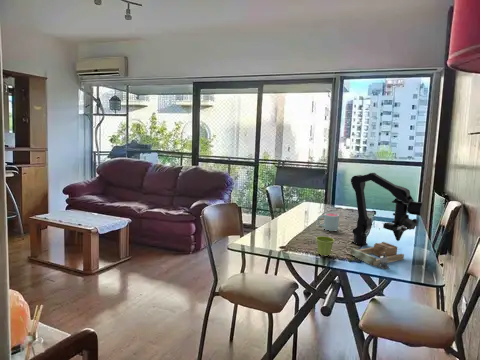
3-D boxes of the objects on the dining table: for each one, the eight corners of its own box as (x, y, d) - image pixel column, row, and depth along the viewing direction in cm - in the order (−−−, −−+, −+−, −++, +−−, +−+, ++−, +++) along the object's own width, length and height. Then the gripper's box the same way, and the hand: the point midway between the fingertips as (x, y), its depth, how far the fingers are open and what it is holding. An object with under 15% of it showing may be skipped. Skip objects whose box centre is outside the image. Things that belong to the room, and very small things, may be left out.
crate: (373, 254, 192) (374, 243, 191) (383, 252, 196) (384, 241, 195) (385, 259, 185) (386, 248, 185) (396, 257, 189) (397, 246, 188)
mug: (336, 228, 241) (337, 213, 239) (339, 232, 232) (340, 216, 230) (315, 226, 242) (316, 212, 241) (317, 230, 233) (318, 215, 231)
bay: (350, 255, 189) (350, 248, 188) (379, 250, 200) (380, 243, 199) (373, 265, 176) (374, 258, 176) (403, 259, 187) (404, 251, 186)
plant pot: (330, 252, 194) (331, 236, 192) (335, 258, 184) (336, 242, 183) (312, 251, 193) (313, 235, 192) (317, 258, 184) (318, 241, 183)
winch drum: (376, 266, 176) (378, 252, 175) (382, 265, 178) (383, 250, 177) (383, 269, 172) (384, 254, 171) (389, 268, 174) (390, 253, 173)
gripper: (402, 217, 181) (399, 247, 183) (426, 214, 190) (422, 243, 192) (383, 212, 190) (381, 241, 193) (407, 209, 199) (404, 237, 202)
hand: (397, 240), depth 194 cm, fingers closed
